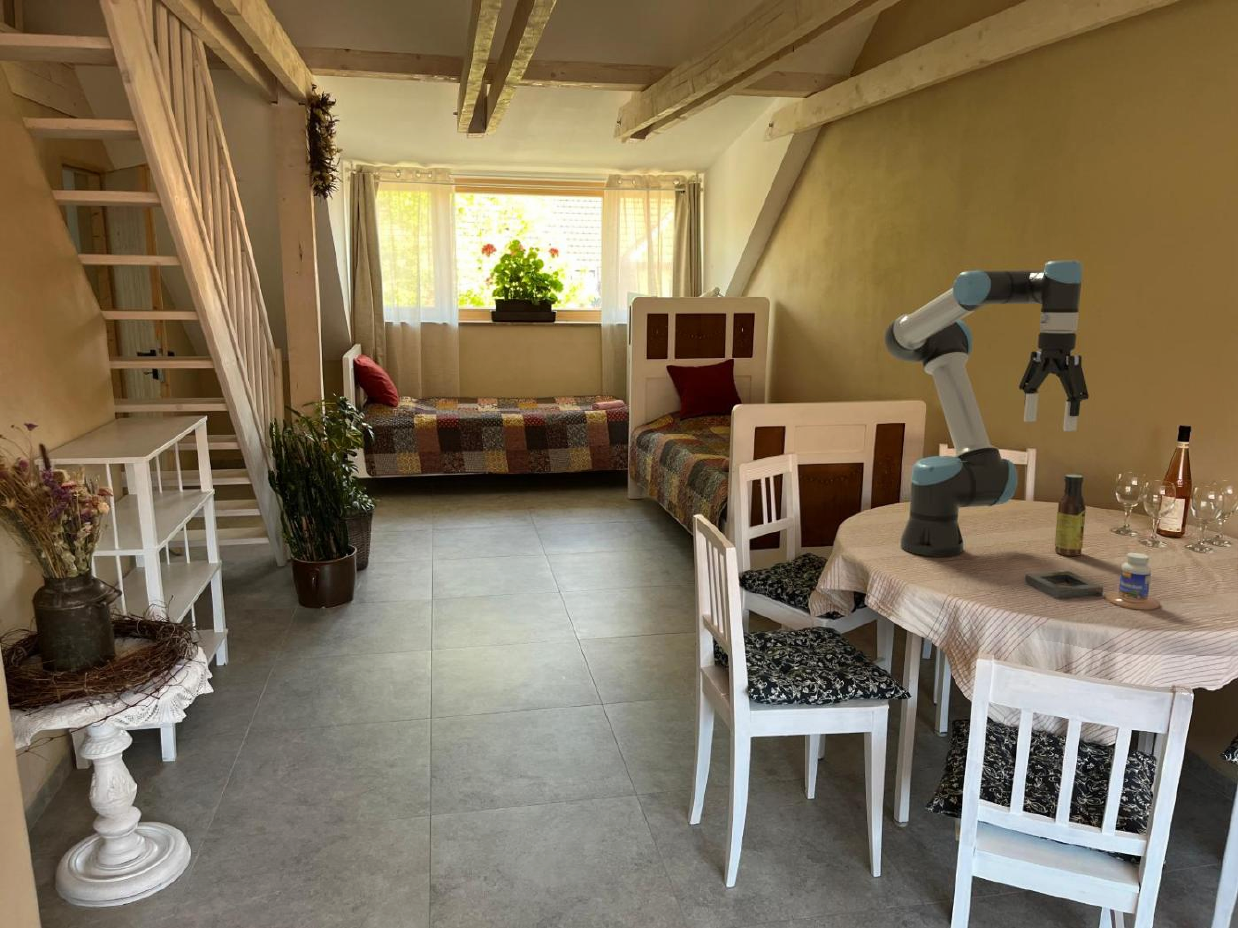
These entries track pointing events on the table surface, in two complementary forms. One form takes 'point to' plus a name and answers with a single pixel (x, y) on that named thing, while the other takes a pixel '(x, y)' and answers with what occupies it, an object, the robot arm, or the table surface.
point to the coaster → (1147, 605)
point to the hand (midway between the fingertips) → (1049, 426)
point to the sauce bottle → (1070, 518)
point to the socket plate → (1076, 590)
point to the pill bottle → (1135, 578)
